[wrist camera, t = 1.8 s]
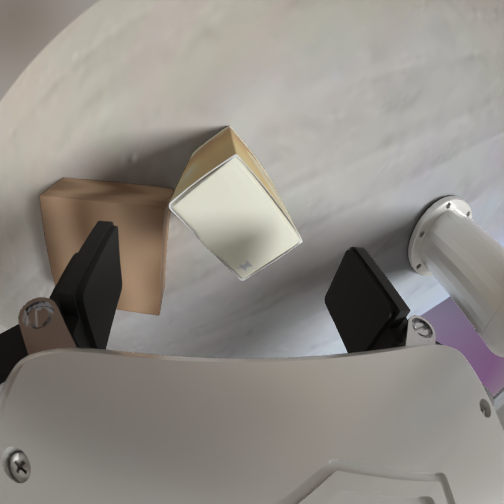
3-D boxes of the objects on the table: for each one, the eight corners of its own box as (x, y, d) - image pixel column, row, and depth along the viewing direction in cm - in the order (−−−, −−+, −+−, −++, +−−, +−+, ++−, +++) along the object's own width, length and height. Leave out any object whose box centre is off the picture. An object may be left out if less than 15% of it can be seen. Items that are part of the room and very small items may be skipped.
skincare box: (269, 175, 25) (309, 245, 15) (232, 201, 26) (245, 287, 16) (227, 120, 21) (237, 150, 11) (188, 151, 22) (164, 208, 12)
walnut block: (173, 187, 24) (164, 209, 20) (164, 284, 31) (159, 315, 27) (64, 176, 22) (39, 195, 18) (73, 270, 28) (58, 297, 24)
